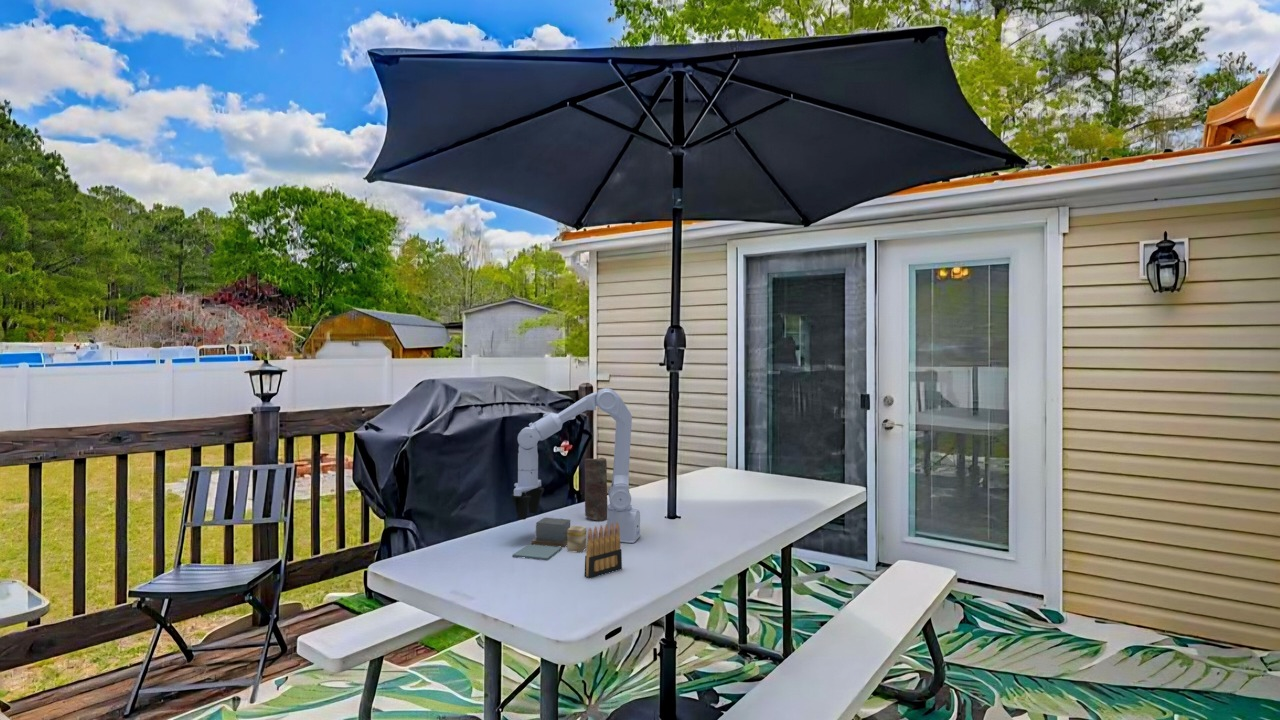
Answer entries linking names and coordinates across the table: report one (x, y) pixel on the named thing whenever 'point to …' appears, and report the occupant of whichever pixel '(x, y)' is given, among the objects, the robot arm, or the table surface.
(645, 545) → the table surface
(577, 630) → the table surface
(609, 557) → the ammunition clip
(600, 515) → the candle
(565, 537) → the mounted unit
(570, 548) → the block
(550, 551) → the mat
